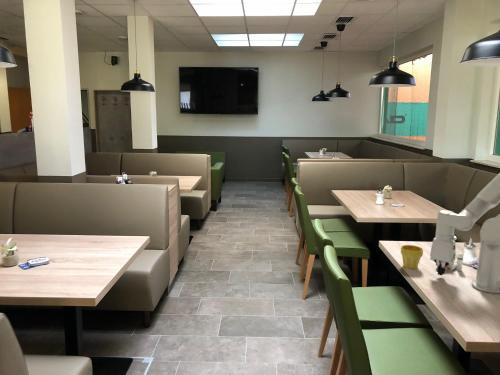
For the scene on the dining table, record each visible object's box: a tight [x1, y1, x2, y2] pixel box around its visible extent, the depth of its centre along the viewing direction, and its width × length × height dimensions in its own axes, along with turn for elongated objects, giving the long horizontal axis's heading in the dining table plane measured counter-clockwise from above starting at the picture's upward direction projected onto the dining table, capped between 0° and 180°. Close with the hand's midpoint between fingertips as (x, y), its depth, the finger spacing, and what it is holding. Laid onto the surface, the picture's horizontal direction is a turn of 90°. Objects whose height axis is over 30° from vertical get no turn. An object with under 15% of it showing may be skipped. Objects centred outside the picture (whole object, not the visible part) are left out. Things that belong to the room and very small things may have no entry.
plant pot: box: [400, 244, 424, 270], centre depth 204 cm, size 10×10×10 cm
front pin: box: [448, 260, 457, 271], centre depth 204 cm, size 2×2×8 cm
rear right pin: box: [455, 252, 464, 272], centre depth 200 cm, size 2×2×8 cm
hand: (440, 274), depth 192 cm, fingers closed
